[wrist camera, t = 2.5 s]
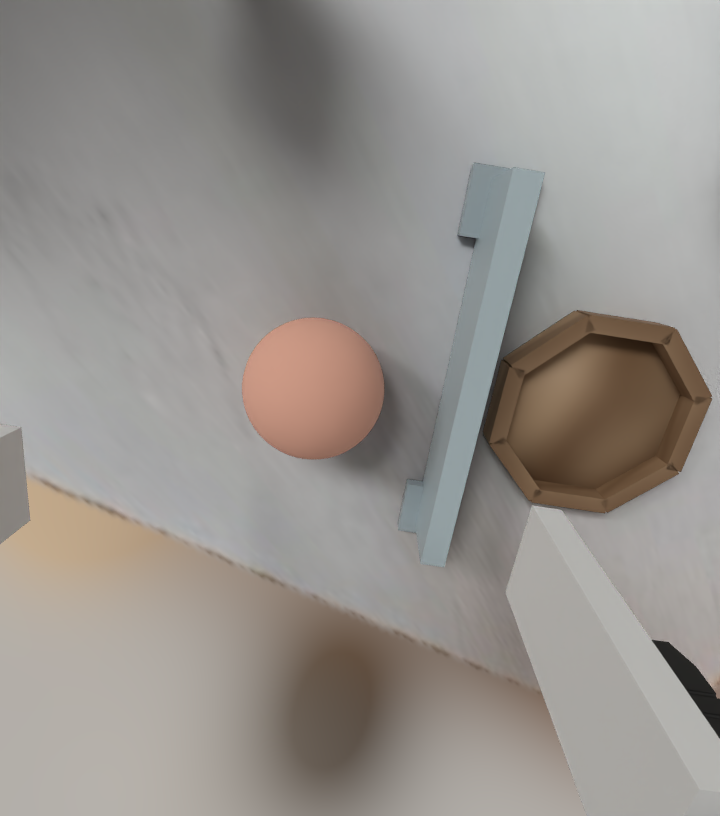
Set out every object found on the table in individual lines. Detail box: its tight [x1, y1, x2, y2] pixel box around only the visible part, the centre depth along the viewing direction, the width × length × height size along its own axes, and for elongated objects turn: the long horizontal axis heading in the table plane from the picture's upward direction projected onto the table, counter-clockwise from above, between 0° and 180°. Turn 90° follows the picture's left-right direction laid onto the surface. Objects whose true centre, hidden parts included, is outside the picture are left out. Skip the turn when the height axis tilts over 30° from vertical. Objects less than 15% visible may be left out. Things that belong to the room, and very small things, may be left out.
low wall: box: [398, 163, 545, 567], centre depth 22 cm, size 3×19×4 cm, turn 171°
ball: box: [242, 318, 384, 459], centre depth 21 cm, size 6×6×6 cm
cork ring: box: [483, 310, 712, 513], centre depth 24 cm, size 10×10×2 cm
